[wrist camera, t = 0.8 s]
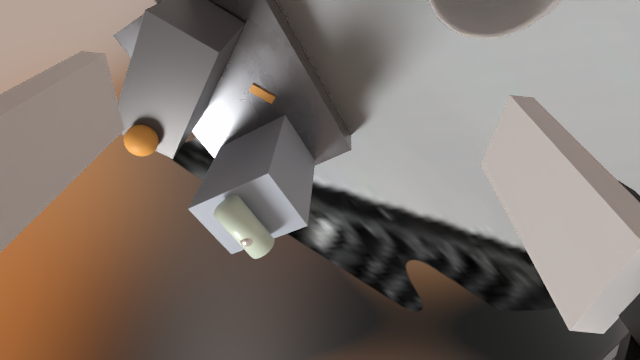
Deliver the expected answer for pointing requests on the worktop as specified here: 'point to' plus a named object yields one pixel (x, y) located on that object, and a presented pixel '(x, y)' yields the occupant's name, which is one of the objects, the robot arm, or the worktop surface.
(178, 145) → the dark gray slab
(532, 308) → the worktop surface
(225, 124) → the base
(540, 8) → the teacup
